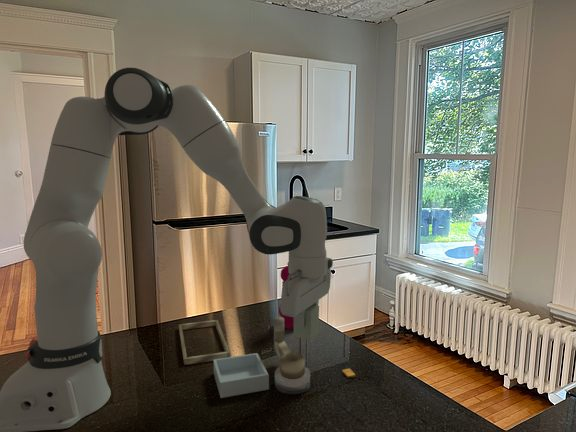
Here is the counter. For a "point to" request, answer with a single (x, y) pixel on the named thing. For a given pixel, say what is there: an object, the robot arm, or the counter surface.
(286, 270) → the pepper mill
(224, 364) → the tray
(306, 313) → the block
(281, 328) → the crank
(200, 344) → the counter surface
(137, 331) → the counter surface
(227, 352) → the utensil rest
